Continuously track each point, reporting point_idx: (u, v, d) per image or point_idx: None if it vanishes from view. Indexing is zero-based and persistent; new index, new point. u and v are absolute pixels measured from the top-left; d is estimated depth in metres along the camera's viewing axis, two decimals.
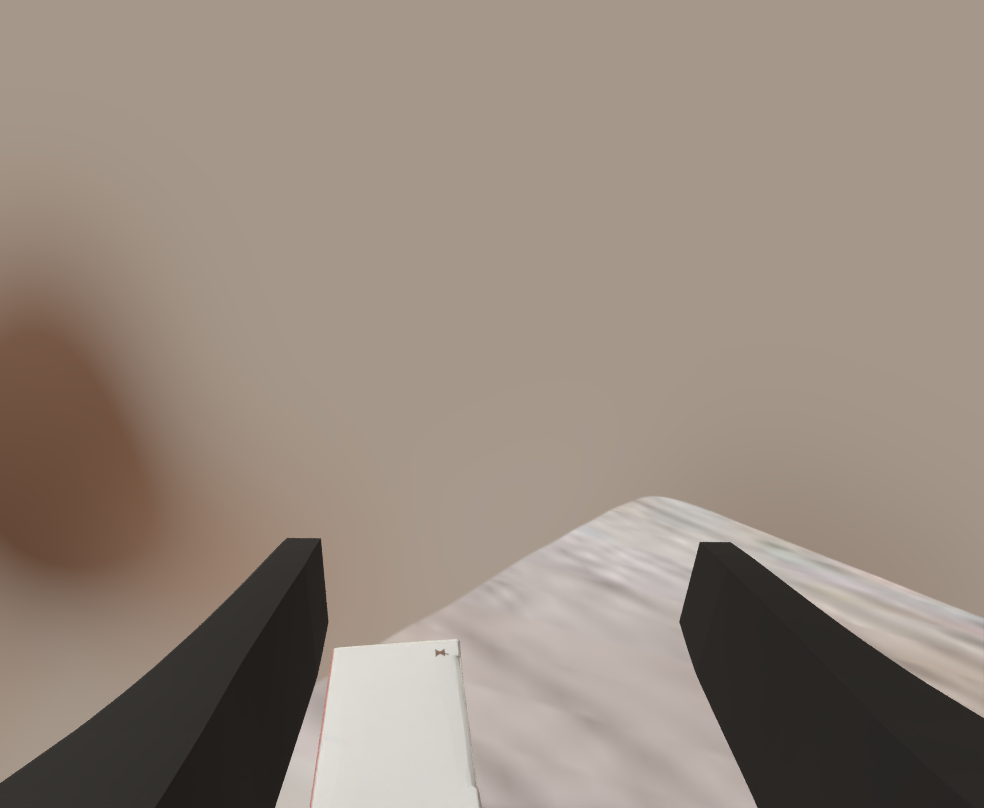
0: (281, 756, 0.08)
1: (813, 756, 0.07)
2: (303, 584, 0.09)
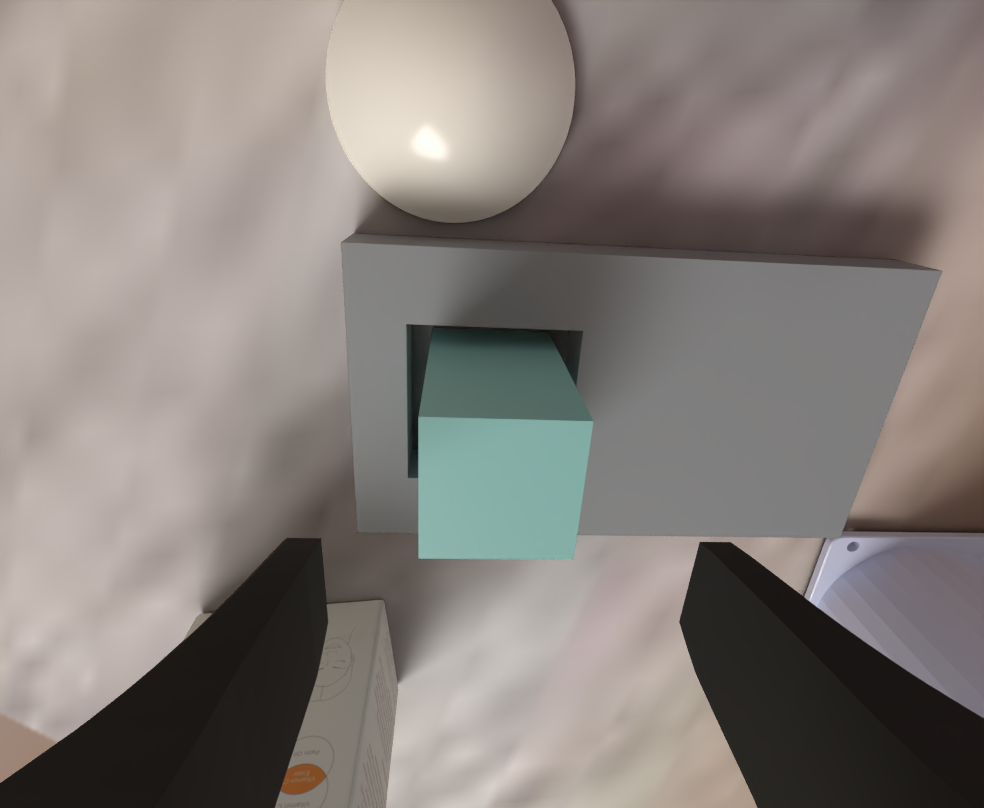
0: (281, 756, 0.08)
1: (813, 756, 0.07)
2: (303, 584, 0.09)
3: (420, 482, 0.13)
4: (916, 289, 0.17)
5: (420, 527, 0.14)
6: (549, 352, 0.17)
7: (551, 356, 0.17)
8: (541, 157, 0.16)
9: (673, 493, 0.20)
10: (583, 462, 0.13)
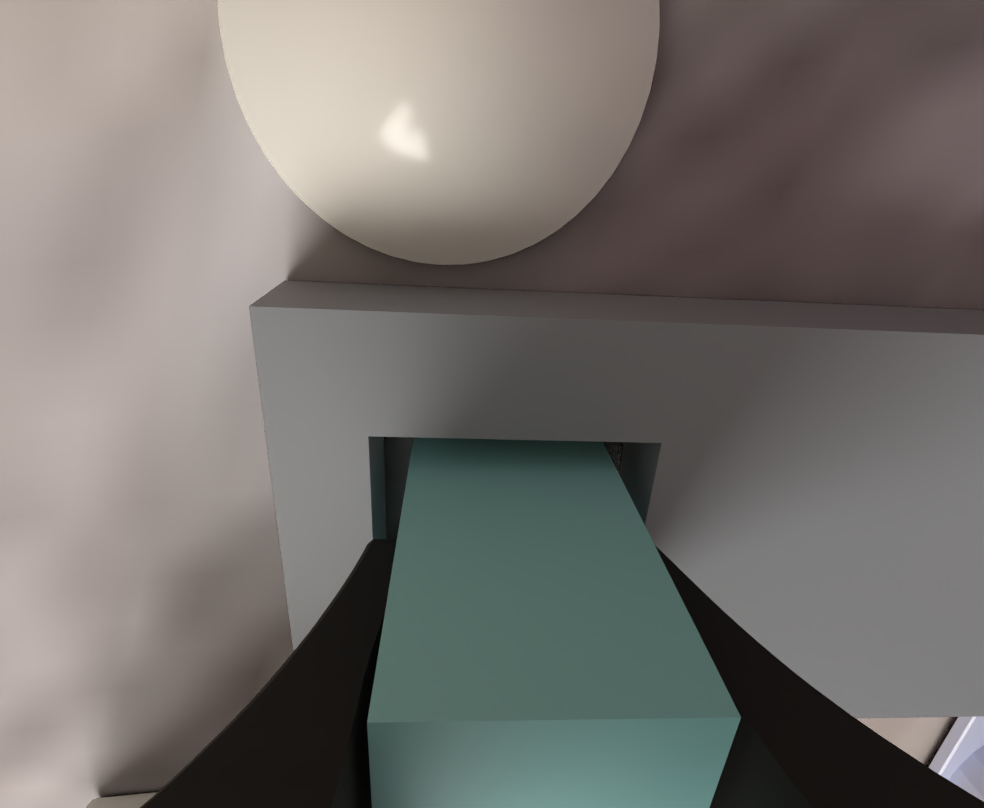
0: None
1: None
2: None
3: None
4: None
5: None
6: (605, 478, 0.10)
7: (611, 491, 0.10)
8: (596, 157, 0.10)
9: None
10: (710, 781, 0.06)
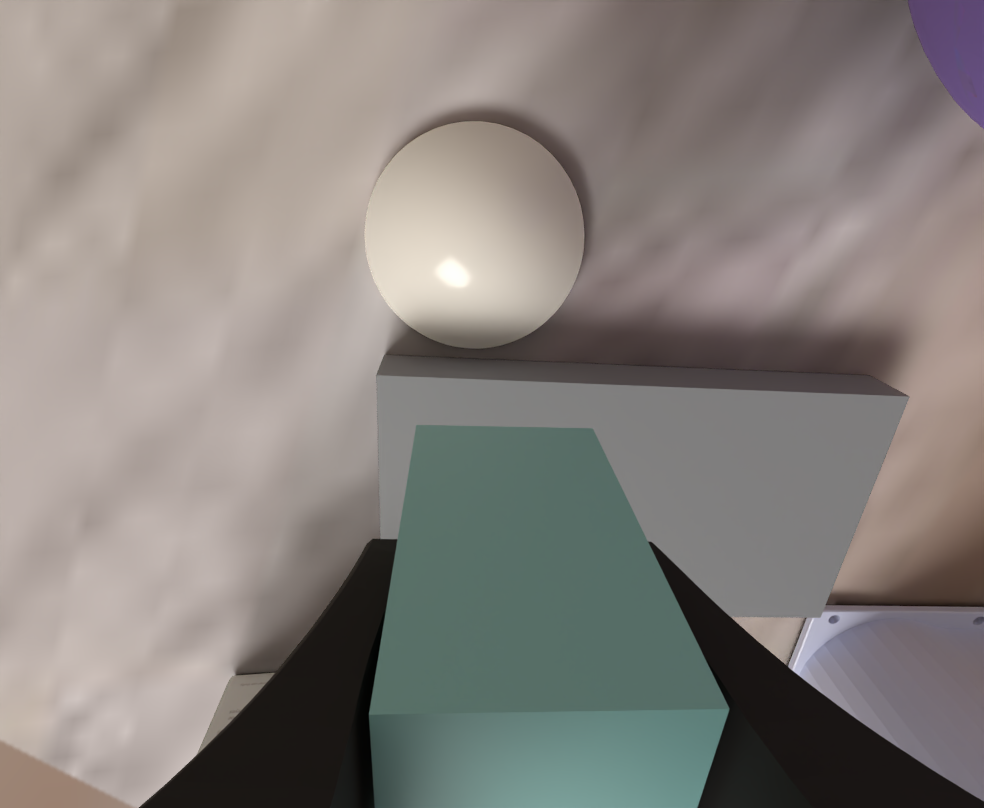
0: None
1: None
2: None
3: None
4: (886, 411, 0.19)
5: None
6: (602, 478, 0.11)
7: (607, 490, 0.10)
8: (553, 295, 0.18)
9: None
10: (701, 772, 0.07)
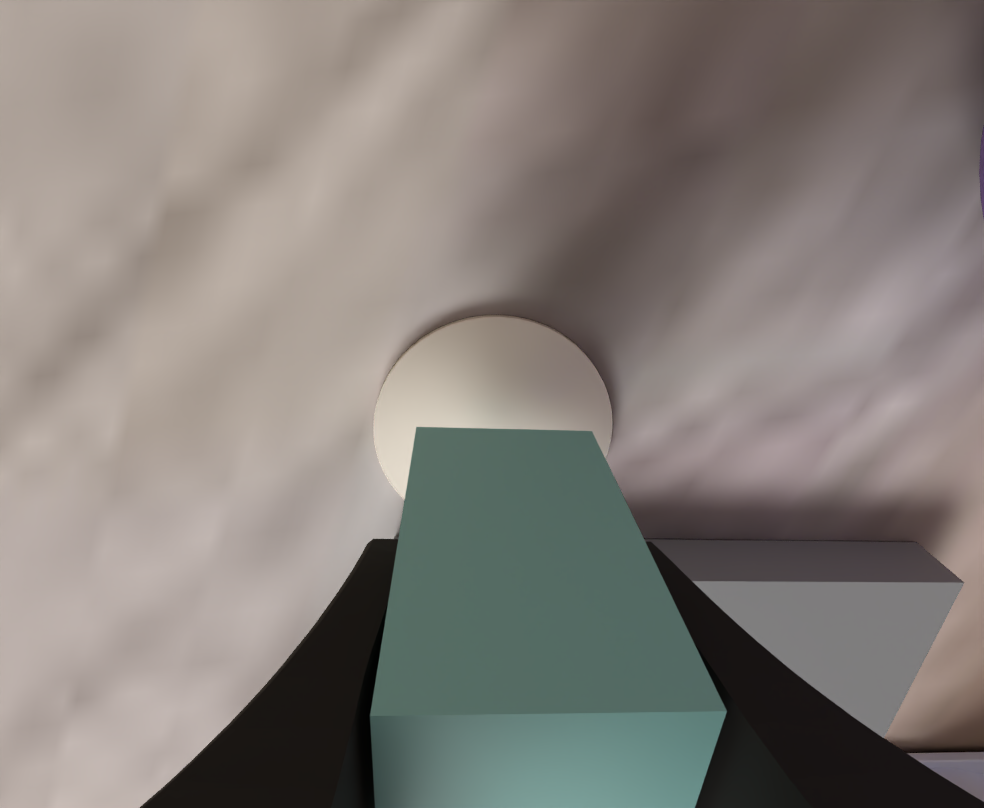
0: None
1: None
2: None
3: None
4: (938, 596, 0.18)
5: None
6: (601, 481, 0.11)
7: (606, 493, 0.10)
8: None
9: None
10: (698, 772, 0.07)
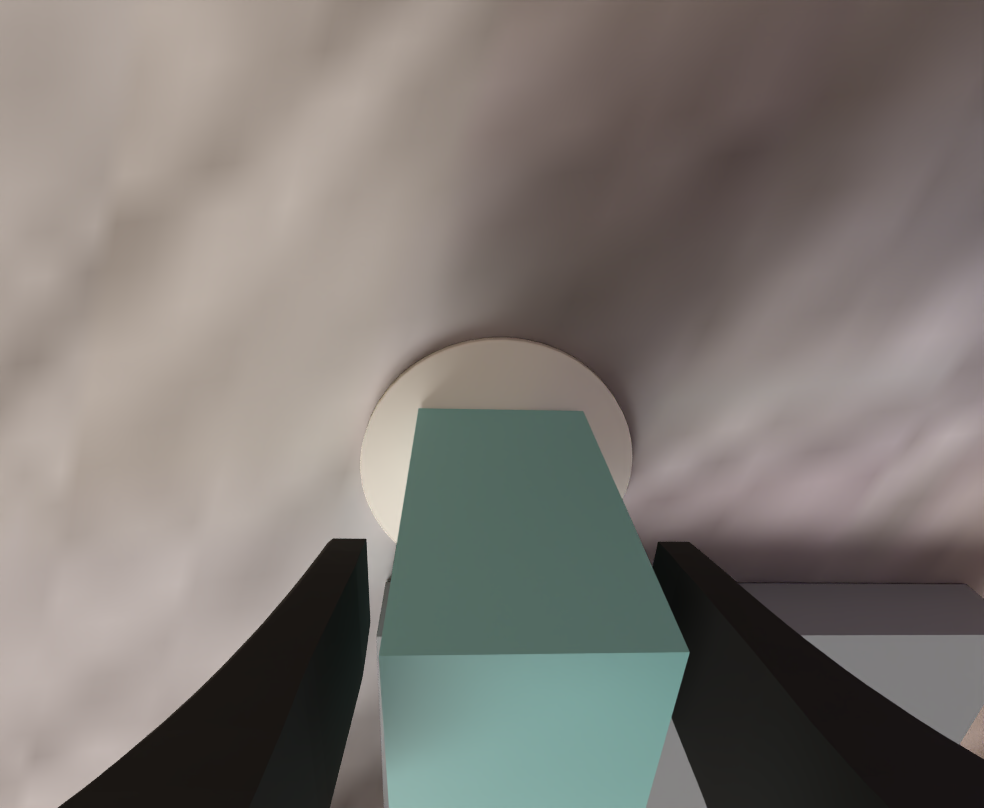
0: (335, 755, 0.08)
1: (755, 757, 0.07)
2: (354, 584, 0.09)
3: (388, 741, 0.08)
4: None
5: (391, 797, 0.08)
6: (589, 456, 0.11)
7: (594, 467, 0.11)
8: None
9: None
10: (666, 707, 0.08)
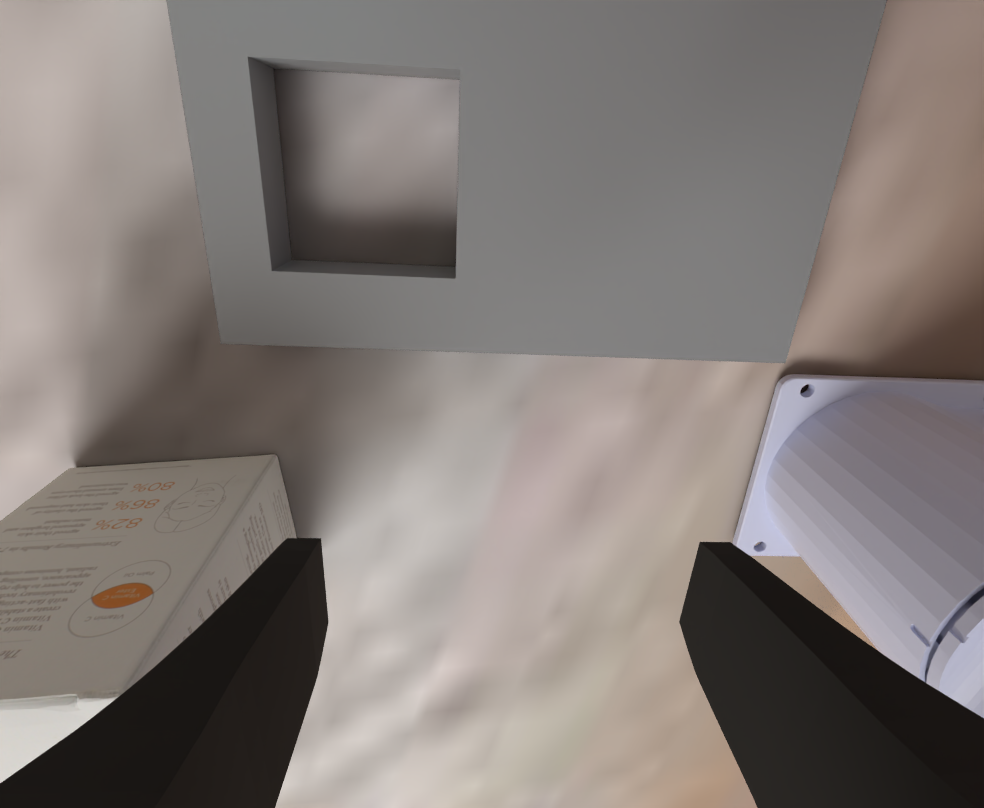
0: (281, 756, 0.08)
1: (813, 756, 0.07)
2: (303, 584, 0.09)
3: None
4: (859, 16, 0.14)
5: None
6: None
7: None
8: None
9: (585, 297, 0.17)
10: None
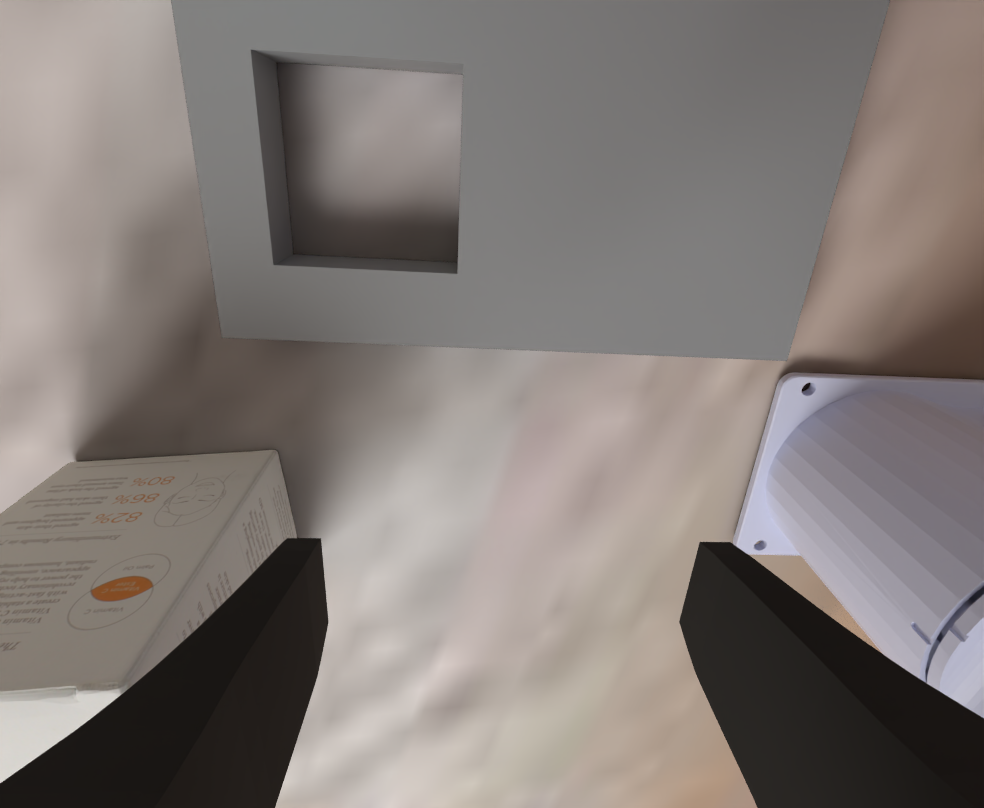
0: (281, 756, 0.08)
1: (813, 756, 0.07)
2: (303, 584, 0.09)
3: None
4: (863, 13, 0.14)
5: None
6: None
7: None
8: None
9: (587, 294, 0.17)
10: None
